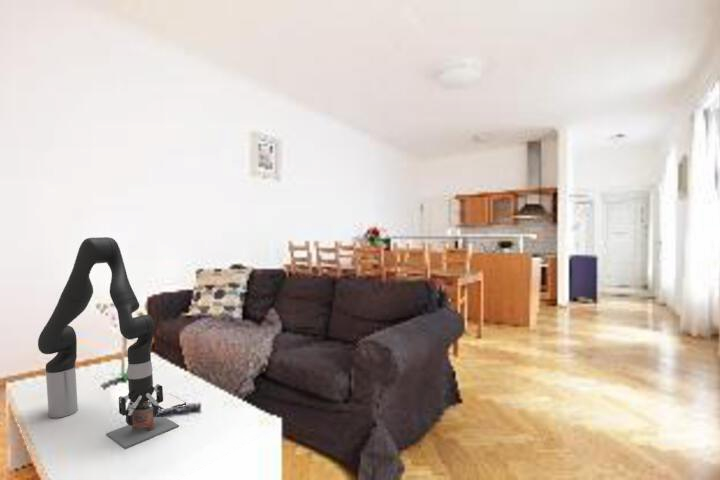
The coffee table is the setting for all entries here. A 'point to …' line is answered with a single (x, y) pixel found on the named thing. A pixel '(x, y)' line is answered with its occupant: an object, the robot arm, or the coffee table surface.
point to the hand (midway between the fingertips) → (142, 420)
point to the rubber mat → (140, 432)
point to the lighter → (143, 417)
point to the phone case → (170, 402)
